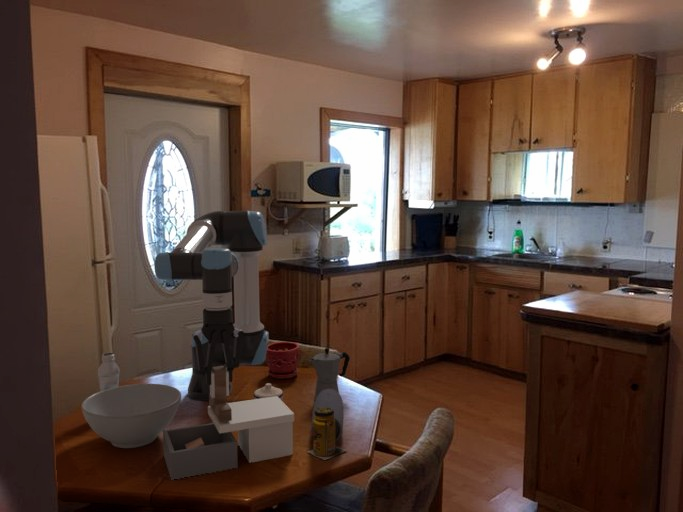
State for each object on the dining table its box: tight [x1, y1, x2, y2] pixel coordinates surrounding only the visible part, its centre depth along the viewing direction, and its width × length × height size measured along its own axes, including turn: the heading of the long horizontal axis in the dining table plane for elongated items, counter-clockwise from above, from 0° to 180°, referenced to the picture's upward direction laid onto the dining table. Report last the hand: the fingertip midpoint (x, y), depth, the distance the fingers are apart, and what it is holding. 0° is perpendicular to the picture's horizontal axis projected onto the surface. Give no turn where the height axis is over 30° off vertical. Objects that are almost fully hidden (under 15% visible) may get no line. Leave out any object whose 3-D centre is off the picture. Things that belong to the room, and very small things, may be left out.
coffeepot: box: [308, 347, 351, 401], centre depth 197 cm, size 15×9×18 cm, turn 118°
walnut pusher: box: [208, 366, 232, 422], centre depth 151 cm, size 14×3×12 cm, turn 24°
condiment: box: [307, 407, 348, 461], centre depth 156 cm, size 7×8×12 cm
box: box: [162, 422, 239, 481], centre depth 151 cm, size 15×16×7 cm
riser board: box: [207, 396, 295, 464], centre depth 156 cm, size 15×20×12 cm
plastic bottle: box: [97, 352, 120, 391], centre depth 182 cm, size 6×7×20 cm
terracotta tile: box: [185, 437, 205, 449], centre depth 153 cm, size 4×4×2 cm
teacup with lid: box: [253, 382, 284, 401], centre depth 180 cm, size 12×9×12 cm
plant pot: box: [265, 341, 300, 380], centre depth 223 cm, size 13×13×12 cm
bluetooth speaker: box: [311, 389, 345, 443], centre depth 169 cm, size 23×9×10 cm, turn 0°
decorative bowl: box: [81, 383, 182, 449], centre depth 164 cm, size 27×27×12 cm
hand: (219, 395), depth 151 cm, fingers closed on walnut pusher, 3 cm apart
